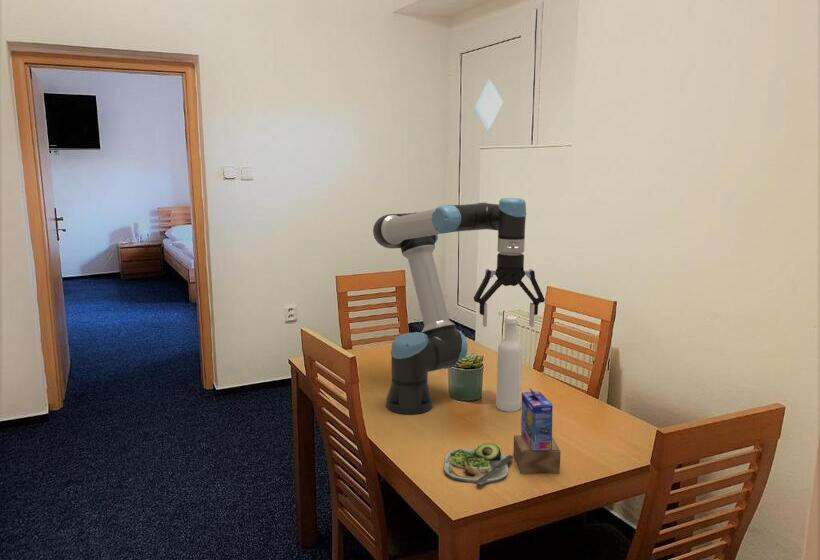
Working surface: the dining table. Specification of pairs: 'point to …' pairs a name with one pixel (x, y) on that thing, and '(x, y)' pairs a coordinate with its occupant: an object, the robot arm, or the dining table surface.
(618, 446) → the dining table surface
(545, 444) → the ink cartridge box
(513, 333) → the bottle
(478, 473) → the avocado toast plate
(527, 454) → the brown wooden block
